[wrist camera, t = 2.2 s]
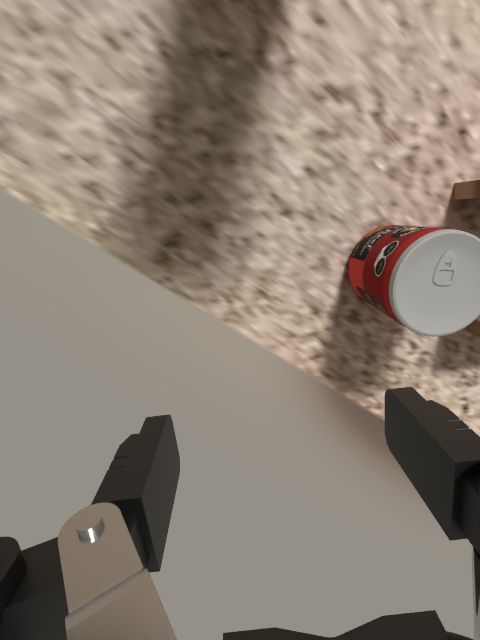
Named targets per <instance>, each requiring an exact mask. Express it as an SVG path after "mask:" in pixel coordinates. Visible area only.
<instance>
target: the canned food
mask: <svg viewBox="0 0 480 640" xmlns="http://www.w3.org/2000/svg"><path fill="white" fill-rule="evenodd" d="M348 271H349V278H350V282H351V284H352V287H353V289H354V290H355V292H356V293H357V294H358V295H359V296H360V297H361V298H362V299H364V300H365V301H367V302H368V303H370V304H371V305H373V306H374V307H376V308H377V309H379V310H380V311H382V312H383V313H385V314H386V315H388V316H389V317H391V318H392V319H394V320H395V321H397V322H398V323H400V324H402V325H403V326H405V327H407V328H408V329H410V330H411V331H414V332H416V333H419V334H422V335H425V336H433V337H435V336H445V335H449V334H452V333H455V332H457V331H459V330H461V329H463V328H465V327H466V326H468V325H469V324H471V323H472V322H473V321H474V320H475V319H476V318H477V317H478V316H479V315H480V239H479V238H478V237H476V236H475V235H472V234H470V233H467V232H464V231H461V230H454V229H445V228H432V227H416V226H399V225H388V226H382V227H379V228H376V229H374V230H372V231H370V232H369V233H368V234H366V235H365V236H364V237H363V238H362V239H361V240H360V241H359V242H358V243H357V244H356V246H355V248H354V249H353V251H352V254H351V256H350V260H349V270H348Z"/></svg>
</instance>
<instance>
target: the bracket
mask: <svg viewBox="0 0 480 640" xmlns="http://www.w3.org/2000/svg"><path fill="white" fill-rule="evenodd" d="M472 198H480V180H475V181H468V182H461V183H455V185H454V200H457V199H472ZM463 329H464V330H466V331H468V332H470V333H472V334H474V335H476V336H478V337H480V315H479V316H478V317H477V318H476V319H475V320H474V321H473V322H472V323H471V324H469V325H468V326H466V327H465V328H463Z"/></svg>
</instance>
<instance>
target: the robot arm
mask: <svg viewBox="0 0 480 640" xmlns="http://www.w3.org/2000/svg"><path fill="white" fill-rule="evenodd" d="M385 437H386V441H387V444H388V447H389V449H390V451H391V453H392V454H393V456H394V457H395V459H396V460H397V461H398V463H399V464H400V466H401V468H402V469H403V471H404V472H405V474H406V475H407V477H408V478H409V480H410V481H411V483H412V484H413V486H414V487H415V489H416V490H417V491H418V493H419V494H420V496H421V498H422V499H423V500H424V502H425V503H426V505H427V507H428V508H429V510H430V511H431V513H432V514H433V516H434V517H435V518H436V520H437V521H438V523H439V525H440V526H441V528H442V529H443V531H444V532H445V533H446V535H447V537H448V538H449V540H458V539H468V540H469V541H470V543H471V544H472V545H473V550H472V577H473V605H474V640H480V437H479V436H478V435H477V434H476V433H475V432H474V431H473V430H472V429H469V427H468V426H467V425H466V424H465V423H464V422H463V421H462V420H459V418H458V417H457V416H456V415H455V414H454V413H453V412H452V411H450V410H449V409H448V408H447V407H444V406H442V405H440V404H438V403H436V402H434V401H432V400H429V401H426V400H425V399H424V398H423V397H422V396H421V395H420V394H419V393H418V392H417V391H416V390H415V389H413V388H412V387H405V388H397V389H388V390H386V392H385ZM179 474H180V458H179V451H178V446H177V442H176V437H175V432H174V427H173V422H172V418H171V416H170V415H162V416H154V417H147V418H146V419H145V422H144V424H143V427H142V429H141V431H140V433H139V434H132V435H131V436H129V437H128V438H127V439H126V440H125V441H124V442H123V443H122V444H121V445H120V446H119V448H118V450H117V452H116V454H115V457H114V460H113V461H112V463H111V465H110V467H109V470H108V471H107V473H106V475H105V477H104V479H103V481H102V483H101V485H100V487H99V489H98V492H97V494H96V496H95V498H94V500H93V502H92V504H91V505H90V506H88V507H85V508H84V509H82V510H80V511H78V512H77V513H76V514H74V515H73V516H72V517H71V518H70V519H69V520H68V521H67V522H66V523H65V524H64V526H63V527H62V529H61V530H60V533H59V536H58V537H56V538H54V539H52V540H49V541H46V542H44V543H41V544H38V545H36V546H33V547H30V548H28V549H25V550H23V551H21V549H20V547H19V544H18V542H17V541H16V540H15V539H14V538H11V537H0V640H177V639H176V636H175V634H174V631H173V629H172V627H171V624H170V622H169V620H168V617H167V615H166V612H165V610H164V608H163V605H162V603H161V601H160V598H159V596H158V593H157V591H156V588H155V586H154V584H153V581H152V579H151V576H150V574H149V572H157V571H160V568H161V562H162V558H163V553H164V548H165V542H166V538H167V533H168V528H169V523H170V518H171V513H172V508H173V504H174V499H175V493H176V489H177V484H178V478H179ZM223 640H473V639H471V638H468V637H465V636H462V635H458V634H455V633H452V632H446V631H445V629H444V627H443V625H442V623H441V621H440V619H439V617H438V615H437V613H436V611H435V610H433V611H424V612H415V613H405V614H397V615H387V616H382V617H379V618H377V619H375V620H373V621H371V622H368V623H366V624H364V625H362V626H359V627H357V628H355V629H353V630H350V631H348V632H346V633H344V634H342V635H339V636H337V637H332V638H328V637H322V636H317V635H312V634H306V633H301V632H296V631H291V630H285V629H280V628H267V629H257V630H248V631H238V632H229V633H223Z"/></svg>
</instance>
